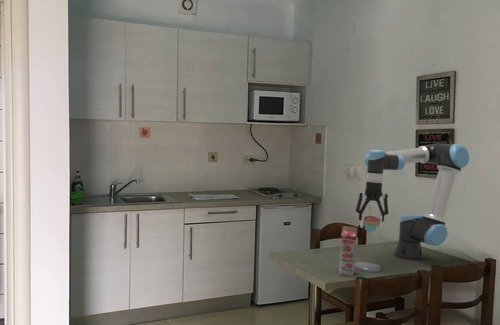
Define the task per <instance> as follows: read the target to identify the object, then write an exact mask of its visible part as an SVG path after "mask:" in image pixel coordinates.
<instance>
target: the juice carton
mask: <svg viewBox="0 0 500 325" xmlns="http://www.w3.org/2000/svg"><path fill="white" fill-rule="evenodd" d="M357 241H358V227H353V226H347V225H343V226H342V230H341V238H340V253H339V264H338V265H339V266H338V274H339V275H344V276H345V275H346V276H351V277H354V275H353V274H355V263H356V252H357Z"/></svg>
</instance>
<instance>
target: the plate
mask: <svg viewBox="0 0 500 325" xmlns="http://www.w3.org/2000/svg"><path fill="white" fill-rule="evenodd" d="M355 269H356V270H357V271H360V272H364V273H380V272H382V266H381V265H380V264H377V263H373V262H367V261H357V262H355V268H354V270H355Z"/></svg>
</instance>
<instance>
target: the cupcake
mask: <svg viewBox="0 0 500 325" xmlns="http://www.w3.org/2000/svg"><path fill="white" fill-rule="evenodd" d="M368 210H369V215H367V216H364V220H363V227H364V230H365V231H367V232H376V230H377V227H378V224H380V220H379V217H376V216H374V215H372V214H371V213H372V207H371V206H369V208H368Z"/></svg>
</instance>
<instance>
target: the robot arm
mask: <svg viewBox="0 0 500 325" xmlns="http://www.w3.org/2000/svg"><path fill="white" fill-rule="evenodd" d="M469 161H470V152H468V149H467V148H466V146H465V145H461V144H457V143H443V142H442V143H440V142H439V143H431V144H427V145H426V144H425V145H419V146H418V147H417V148H408V149H400V150H398V149H397V150H391V151H390V150H389V151H385V150H383V149H382V150H380V149H370V150H369V152H368V153H366V154H365V156H364V163H365V165H366V166H367V171H366V172H367V173H366V184H365V191H364V192H362V191H360V192H358V200H357V203H356V207H355V212H356V213H358V220H359V221H360V224H359V227H360V228H362V229H363V228H364V224H363V220H364V217H365V215H364V211H365V210H366V207H367V206H368V204H369V203H370V201H374V202H376V204H377V207H378V210H379V212H380V214H379V215H378V219H379V220H380V224H378V225H377V227H378V229H379V230H381V229H382V224H383V223H384V221H385V216H386V215H389V206H388V197H389V195H388V194H387V193H383V191H382V190H383V183H382V182H383V180H384V179H383V178H384V170H386V171H401V170H403V169H404V168H405V164H414V163H420V164H432V165H433V164H434V165H436V168H437V169H438V172H437V176H436V180H435V183H434V186H433V189H432V194H431V196H430V199H429V203H428V206H427V210H426V213H425V214H423V215H420V214H419V215H418V214H417V215H416V214H415V215H414V214H404V215H401V216H400V221H399V230H398V231H399V235H398V241H397V245H396V247H395V248H394V254H393V255H394V256H395V257H397V258H400V259H404V260H409V261H420V260H421V261H422V260H423V259H424V251H423V249H422V248H423V247H422V244H423V243H424V244H426V245H429V246H433V247H434V246H435V247H437V246H440V245H441V244H443V243H444V242H445V240H447V237H448V233H449V232H448V228H447V227H446V221H445V218H444V217H445V213H446V210H447V208H448V204H449V201H450V197H451V193H452V190H453V186H454V183H455V179H456V177H457V174H459V173H461V170H462V169H463V168H465V167H466V166H468V164H469ZM364 196H365V197H366V198H365V201H364V202H363V204H362V201H363V198H364ZM380 198H383V206H382V203H381V200H380Z"/></svg>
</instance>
